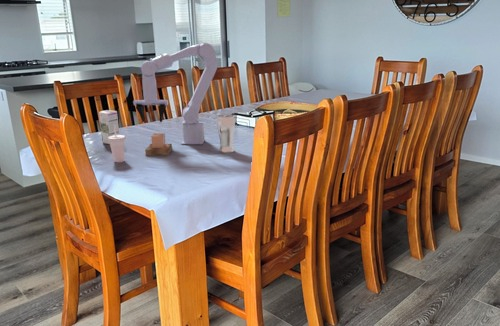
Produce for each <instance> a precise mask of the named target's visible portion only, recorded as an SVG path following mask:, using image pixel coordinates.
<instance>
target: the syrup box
mask: <svg viewBox="0 0 500 326" xmlns="http://www.w3.org/2000/svg"><path fill="white" fill-rule="evenodd" d="M98 114H99V124H100V125H99V126H100V131H101V140H102V144H105V145H108V146H110V142H109V140H108V137H109V136H113V135H115V132H114V125H115V127H116V135H120V128H119V119H118V118H119V117H118V116H119V115H118V111H117V110H110V109H106V110H104V109H103V110H101V111H99V112H98Z"/></svg>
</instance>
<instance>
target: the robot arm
mask: <svg viewBox="0 0 500 326" xmlns="http://www.w3.org/2000/svg"><path fill="white" fill-rule="evenodd" d="M188 57H199V58H201V60H202V63H203V65H204V69H203V71H202V74H201V76H200V78H199V80H198V83H197V85H196V87H195V89H194V92H193V94H192V96H191V99H190V100H189V102H188V104H187V105H186V106H185V107H184V108H183V109H182V112H181V115H182V118H183V120H182V122H181V123H182V124H181V125H182V141H181V143H180V144H181V145H203V144H204V142H205V125H204V122H199V112H200V109H201V106H202V103H203V101H204V99H205V96H206V94H207V92H208V90H209V87H210V85H211V83H212V81H213V78H214V76H215V74H216V71H218V70H217V69H218V61H217V53H216V51H215V48H214V47H213V45H212V44H210V43H208V42H200V43H198V44H197V43H196V44H193V45H190V46H188V47H185V48H183V49H181V50H179V51H177V52H175V53H172V54H169V53H161V54H160V56H157V57H154V58H152V57H151V58H149V60H145V61H144V62H142V64H141V67H140V69H141V73H142V74H141V77H142V81H141V82H142V83H141V84H142V95H143V99H135V100H133V101H132V103H133V106H135V109H136V111H137V112H138V114H139V116H140V119H141V123H144V122H145V121H146V116H145V106H158V107H157V108H158V114H159V117H158V118H159V119H158V120H159V123H162V122H163V119H164V118H163V116H164V114H165V111H166V108H167V106H168V105H169V100H168V99H158V89H157V79H156V74H155V73H159V72H161V71H164V70H166V69H169V68H171V67H173V64H174V63H175V62H177V61H180V60H184V59H185V58H188Z"/></svg>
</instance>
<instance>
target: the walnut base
mask: <svg viewBox="0 0 500 326" xmlns="http://www.w3.org/2000/svg"><path fill="white" fill-rule="evenodd" d="M165 144H166V145H165V146H164V148H152V143H150V144H149V145H148V146H147V147H145V153H144V154H145V156H169V154H170V153H171V152H172V150H173V145H172V143H165Z"/></svg>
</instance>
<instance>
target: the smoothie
mask: <svg viewBox="0 0 500 326" xmlns="http://www.w3.org/2000/svg"><path fill="white" fill-rule="evenodd" d="M114 132H115V135H113V136H109V137H108V140H109V142H110V145H109V146H110V150H111V154H112V158H113V162H114V163H122V162H123V163H124V162H125V142H126V141H125V140H126V135H123V134H119V135H116V127H115V125H114Z"/></svg>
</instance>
